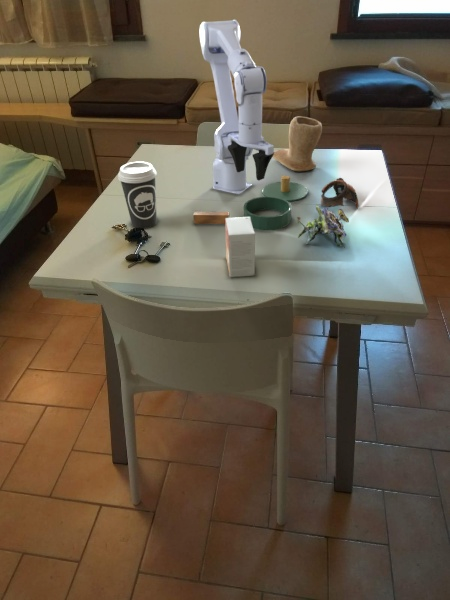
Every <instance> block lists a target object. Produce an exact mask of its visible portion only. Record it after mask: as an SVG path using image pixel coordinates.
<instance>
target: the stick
mask: <svg viewBox="0 0 450 600" xmlns="http://www.w3.org/2000/svg"><path fill="white" fill-rule="evenodd" d="M225 218H230V212H229V211H194V213H193V224H195V225H196V224H198V225H225Z"/></svg>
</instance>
